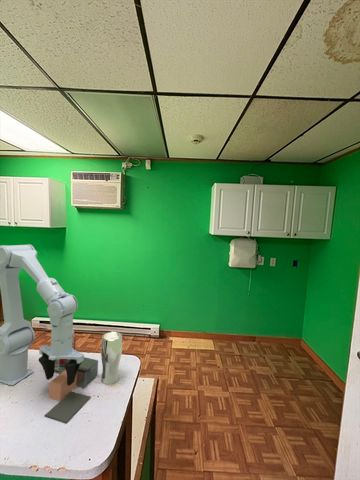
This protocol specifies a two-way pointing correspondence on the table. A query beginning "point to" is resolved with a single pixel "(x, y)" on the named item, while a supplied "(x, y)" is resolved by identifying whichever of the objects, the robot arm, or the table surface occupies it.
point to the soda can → (65, 359)
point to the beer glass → (111, 356)
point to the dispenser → (83, 371)
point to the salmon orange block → (61, 386)
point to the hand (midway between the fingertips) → (60, 380)
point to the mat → (67, 407)
